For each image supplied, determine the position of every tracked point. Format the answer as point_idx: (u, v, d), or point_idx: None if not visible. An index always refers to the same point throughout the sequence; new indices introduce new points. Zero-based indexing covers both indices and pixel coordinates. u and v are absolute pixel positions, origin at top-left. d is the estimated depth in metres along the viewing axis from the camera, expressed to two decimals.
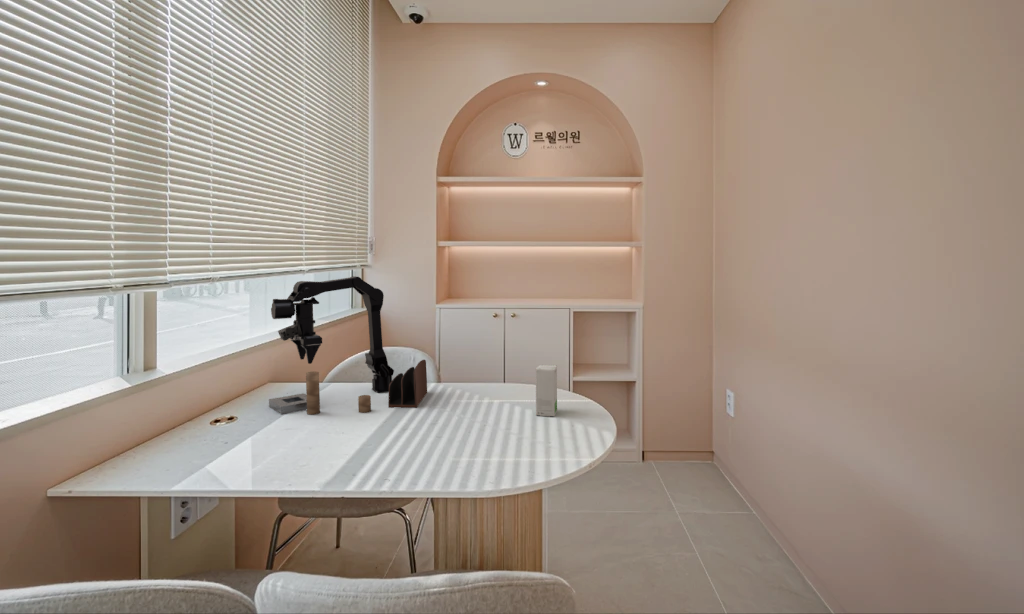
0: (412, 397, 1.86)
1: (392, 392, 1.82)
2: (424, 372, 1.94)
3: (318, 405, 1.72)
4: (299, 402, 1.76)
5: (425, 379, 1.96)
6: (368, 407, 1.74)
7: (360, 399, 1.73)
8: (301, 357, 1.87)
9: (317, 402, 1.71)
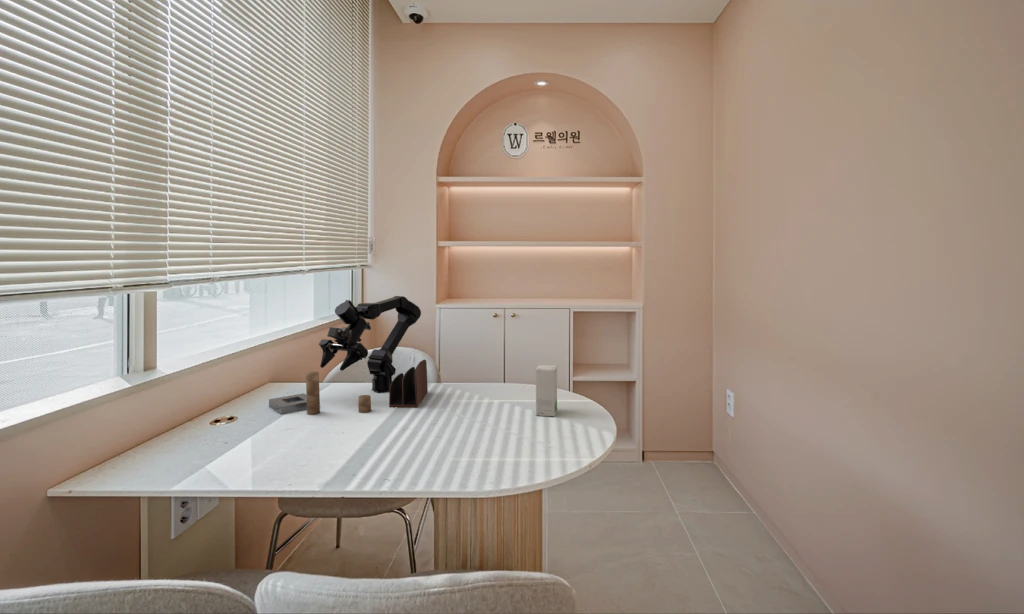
0: (412, 397, 1.86)
1: (393, 392, 1.82)
2: (424, 372, 1.94)
3: (318, 405, 1.72)
4: (299, 402, 1.76)
5: (425, 379, 1.96)
6: (368, 407, 1.74)
7: (360, 399, 1.73)
8: (322, 365, 1.81)
9: (317, 402, 1.71)
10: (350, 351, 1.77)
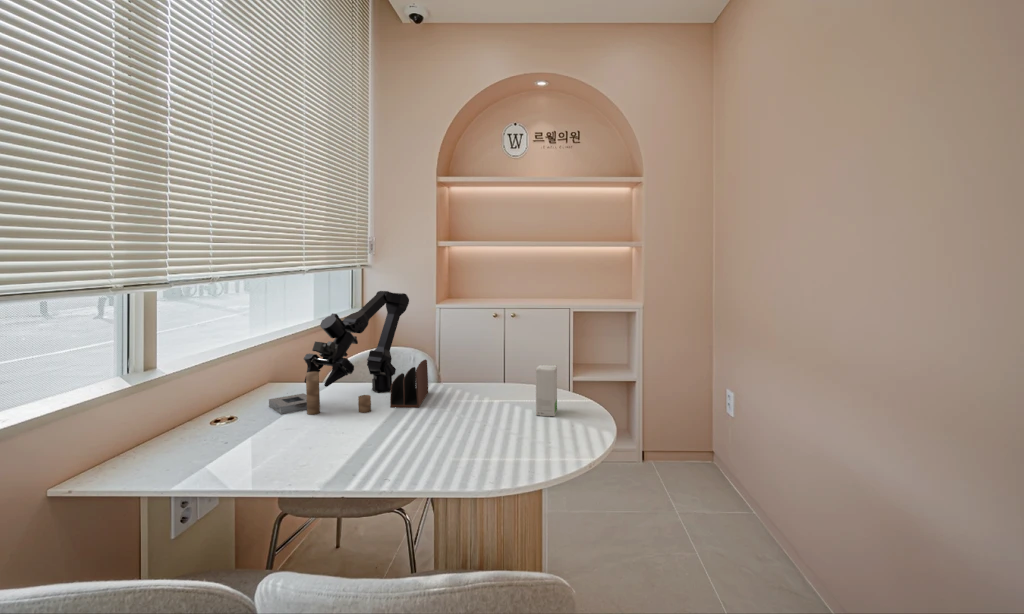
0: (413, 397, 1.86)
1: (394, 392, 1.82)
2: (425, 372, 1.94)
3: (318, 405, 1.72)
4: (299, 402, 1.76)
5: (426, 379, 1.96)
6: (368, 407, 1.74)
7: (360, 399, 1.73)
8: None
9: (317, 402, 1.71)
10: (335, 366, 1.71)
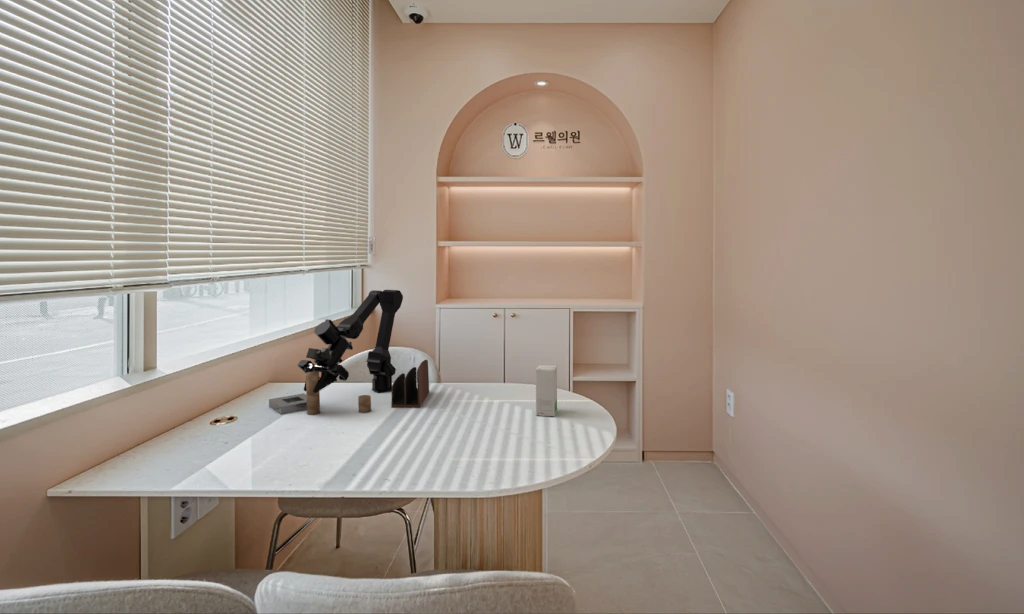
0: (414, 397, 1.86)
1: (395, 392, 1.82)
2: (426, 372, 1.94)
3: (318, 405, 1.72)
4: (299, 402, 1.76)
5: (427, 379, 1.96)
6: (368, 407, 1.74)
7: (360, 399, 1.73)
8: None
9: (317, 402, 1.71)
10: (324, 372, 1.70)
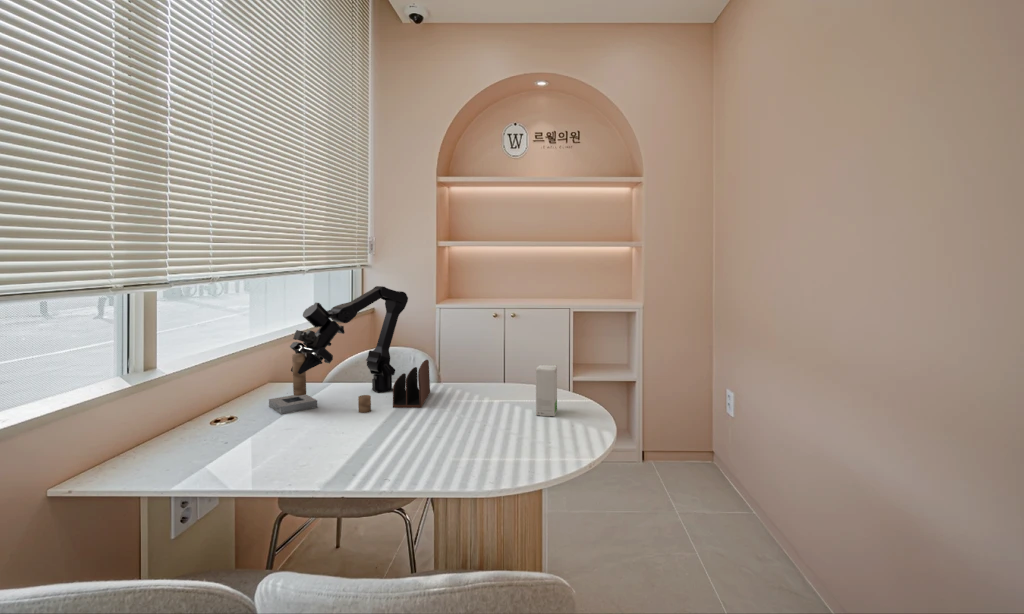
0: (416, 397, 1.86)
1: (396, 392, 1.82)
2: (427, 372, 1.94)
3: (303, 386, 1.74)
4: (299, 402, 1.76)
5: (428, 379, 1.96)
6: (368, 407, 1.74)
7: (360, 399, 1.73)
8: None
9: (302, 383, 1.74)
10: (308, 354, 1.73)
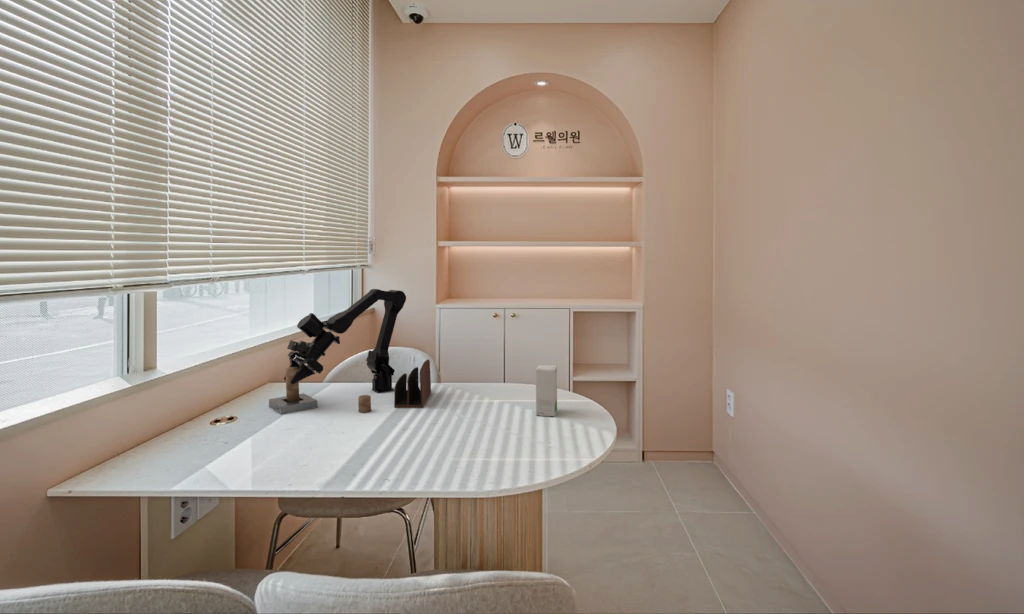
0: (417, 397, 1.86)
1: (397, 392, 1.82)
2: (428, 372, 1.94)
3: (296, 400, 1.78)
4: (299, 402, 1.76)
5: (429, 379, 1.96)
6: (368, 407, 1.74)
7: (360, 399, 1.73)
8: None
9: (294, 397, 1.77)
10: (301, 365, 1.75)
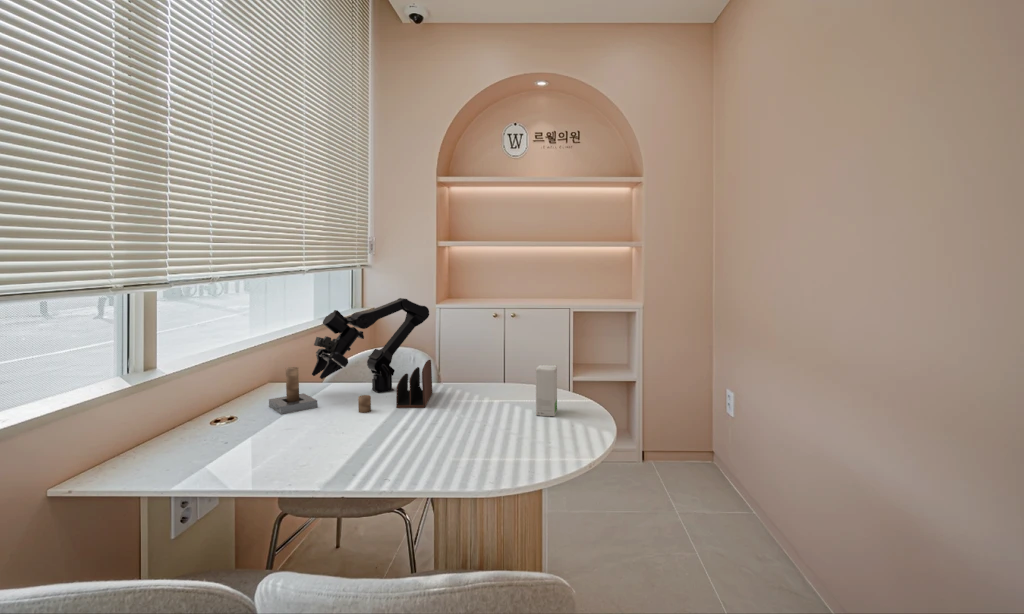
0: (419, 397, 1.86)
1: (399, 392, 1.82)
2: (430, 372, 1.94)
3: (296, 400, 1.78)
4: (299, 402, 1.76)
5: (430, 379, 1.96)
6: (368, 407, 1.74)
7: (360, 399, 1.73)
8: (313, 373, 1.88)
9: (294, 397, 1.77)
10: (328, 360, 1.80)
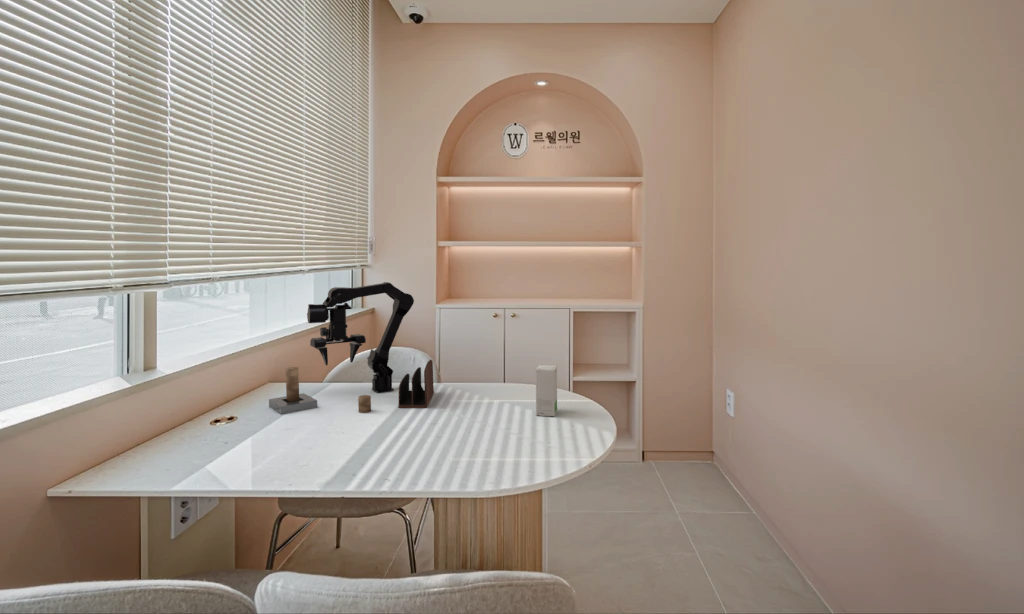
0: (421, 397, 1.86)
1: (401, 393, 1.82)
2: (431, 372, 1.94)
3: (296, 400, 1.78)
4: (299, 402, 1.76)
5: (432, 379, 1.96)
6: (368, 407, 1.74)
7: (360, 399, 1.73)
8: (350, 360, 1.96)
9: (294, 397, 1.77)
10: None
